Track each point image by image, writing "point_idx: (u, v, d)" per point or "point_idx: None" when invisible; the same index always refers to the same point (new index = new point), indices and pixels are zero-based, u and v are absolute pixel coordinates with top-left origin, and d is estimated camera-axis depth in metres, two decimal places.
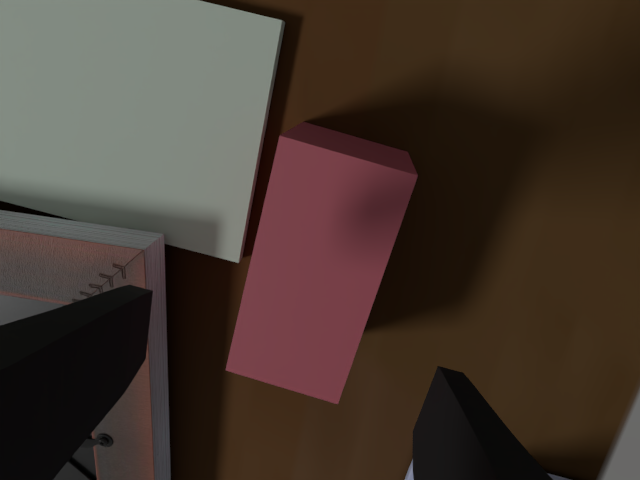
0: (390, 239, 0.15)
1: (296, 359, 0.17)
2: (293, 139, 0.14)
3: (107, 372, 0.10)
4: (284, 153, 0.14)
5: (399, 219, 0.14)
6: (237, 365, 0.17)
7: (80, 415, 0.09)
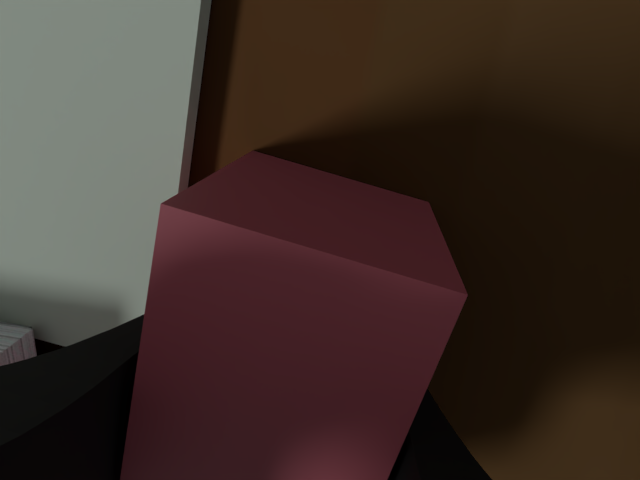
0: (404, 415, 0.07)
1: None
2: (192, 211, 0.06)
3: None
4: (174, 241, 0.06)
5: (424, 379, 0.07)
6: None
7: None
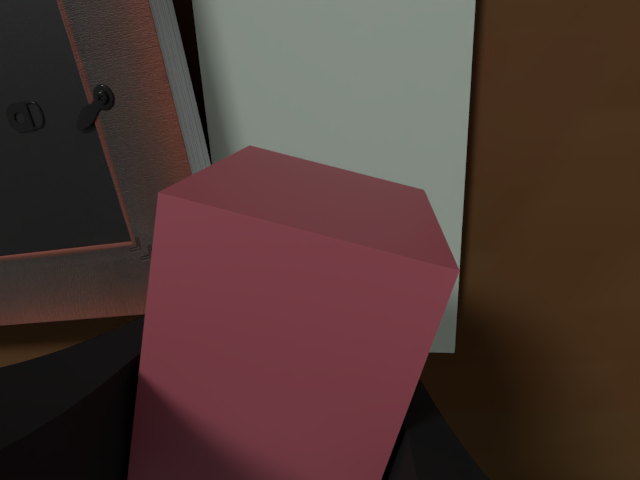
0: (403, 393, 0.07)
1: None
2: (189, 199, 0.07)
3: None
4: (172, 228, 0.07)
5: (420, 356, 0.07)
6: None
7: None
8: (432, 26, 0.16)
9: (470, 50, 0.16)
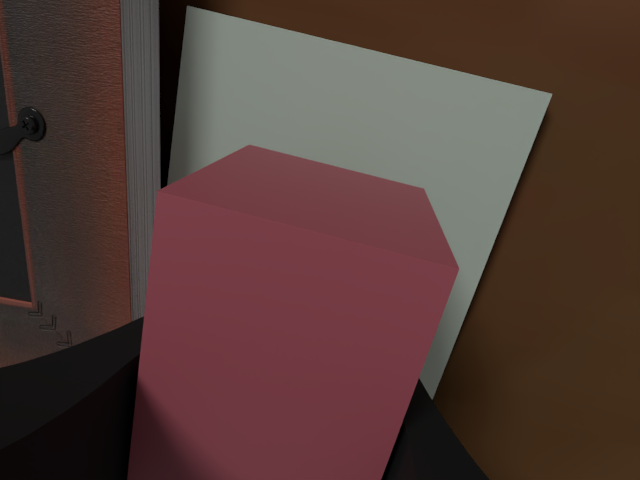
0: (403, 391, 0.07)
1: None
2: (188, 198, 0.07)
3: None
4: (171, 227, 0.07)
5: (420, 354, 0.07)
6: None
7: None
8: (476, 149, 0.13)
9: (511, 190, 0.13)
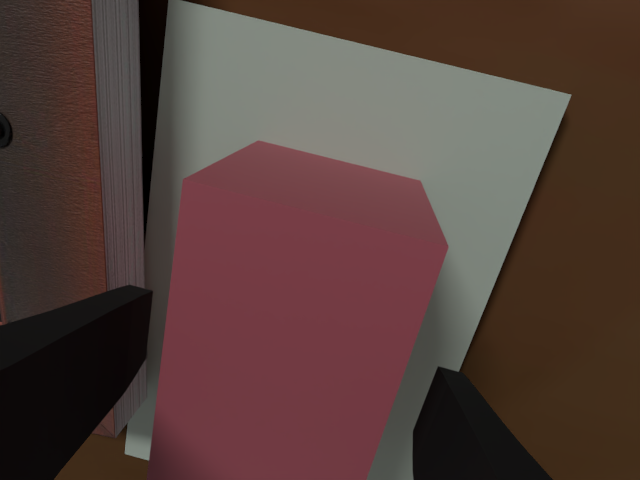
0: (400, 358, 0.08)
1: None
2: (209, 185, 0.07)
3: (107, 372, 0.10)
4: (195, 211, 0.07)
5: (415, 324, 0.08)
6: None
7: (80, 415, 0.09)
8: (486, 155, 0.11)
9: (525, 199, 0.12)
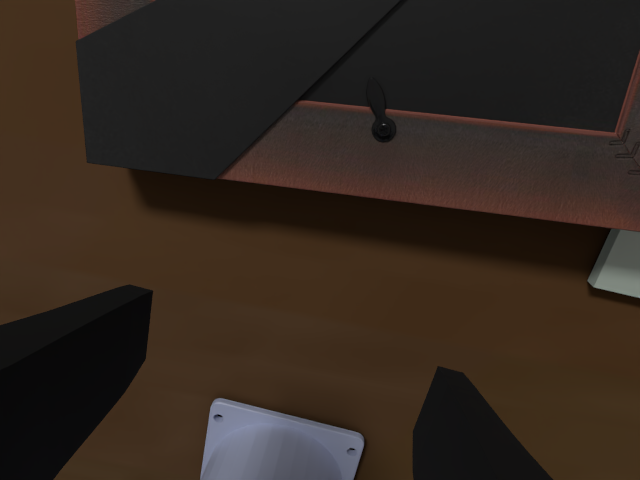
0: None
1: None
2: None
3: (107, 372, 0.10)
4: None
5: None
6: None
7: (80, 415, 0.09)
8: None
9: None
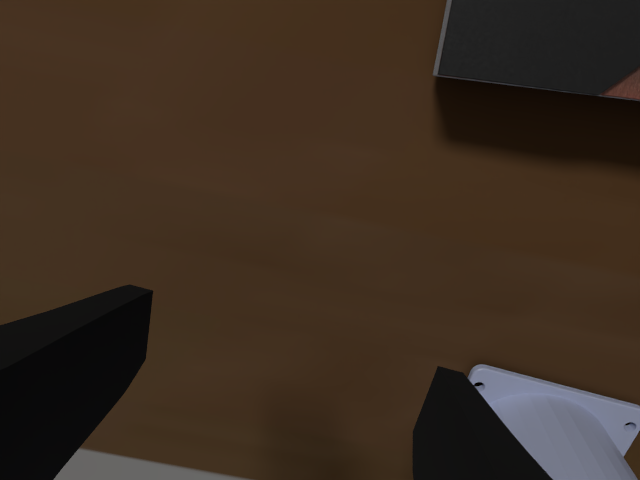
0: None
1: None
2: None
3: (107, 372, 0.10)
4: None
5: None
6: None
7: (80, 415, 0.09)
8: None
9: None
